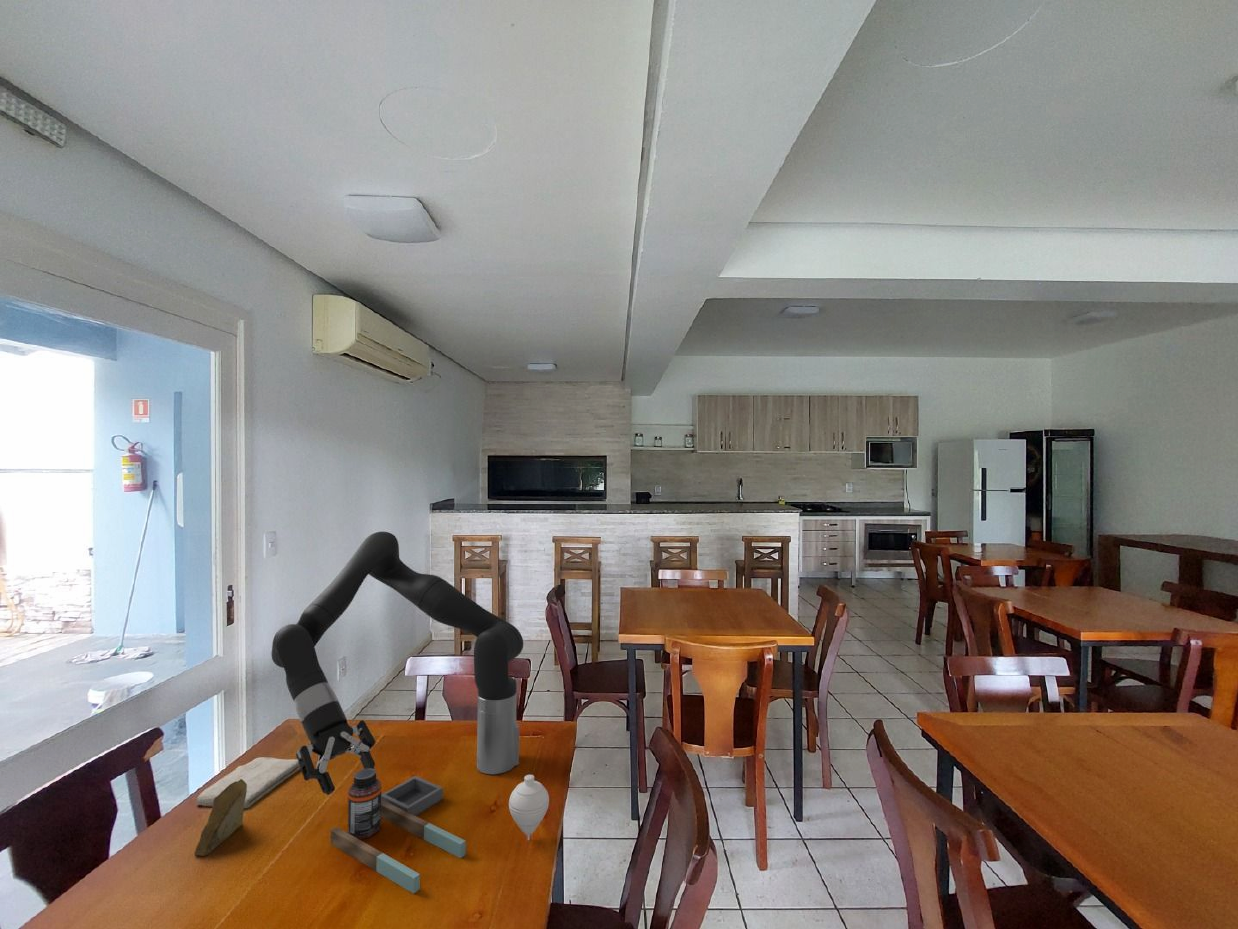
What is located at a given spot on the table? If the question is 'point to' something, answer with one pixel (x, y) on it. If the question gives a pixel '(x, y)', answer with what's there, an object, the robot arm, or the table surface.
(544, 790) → the spinning top
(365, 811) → the supplement bottle
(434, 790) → the grey square tray
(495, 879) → the table surface
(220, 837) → the rock
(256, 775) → the washcloth
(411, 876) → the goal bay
